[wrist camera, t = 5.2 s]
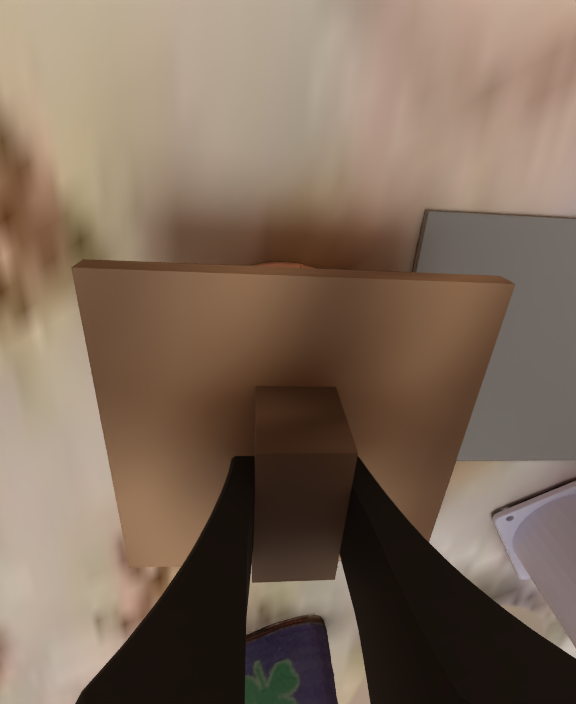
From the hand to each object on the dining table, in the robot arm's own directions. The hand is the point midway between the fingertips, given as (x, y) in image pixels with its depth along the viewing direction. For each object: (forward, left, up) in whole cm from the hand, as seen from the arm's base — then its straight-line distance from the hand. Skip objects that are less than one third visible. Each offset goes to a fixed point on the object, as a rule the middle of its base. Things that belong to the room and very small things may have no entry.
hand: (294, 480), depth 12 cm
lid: (0, 0, -2) cm, 2 cm away
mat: (-11, +7, -9) cm, 16 cm away
